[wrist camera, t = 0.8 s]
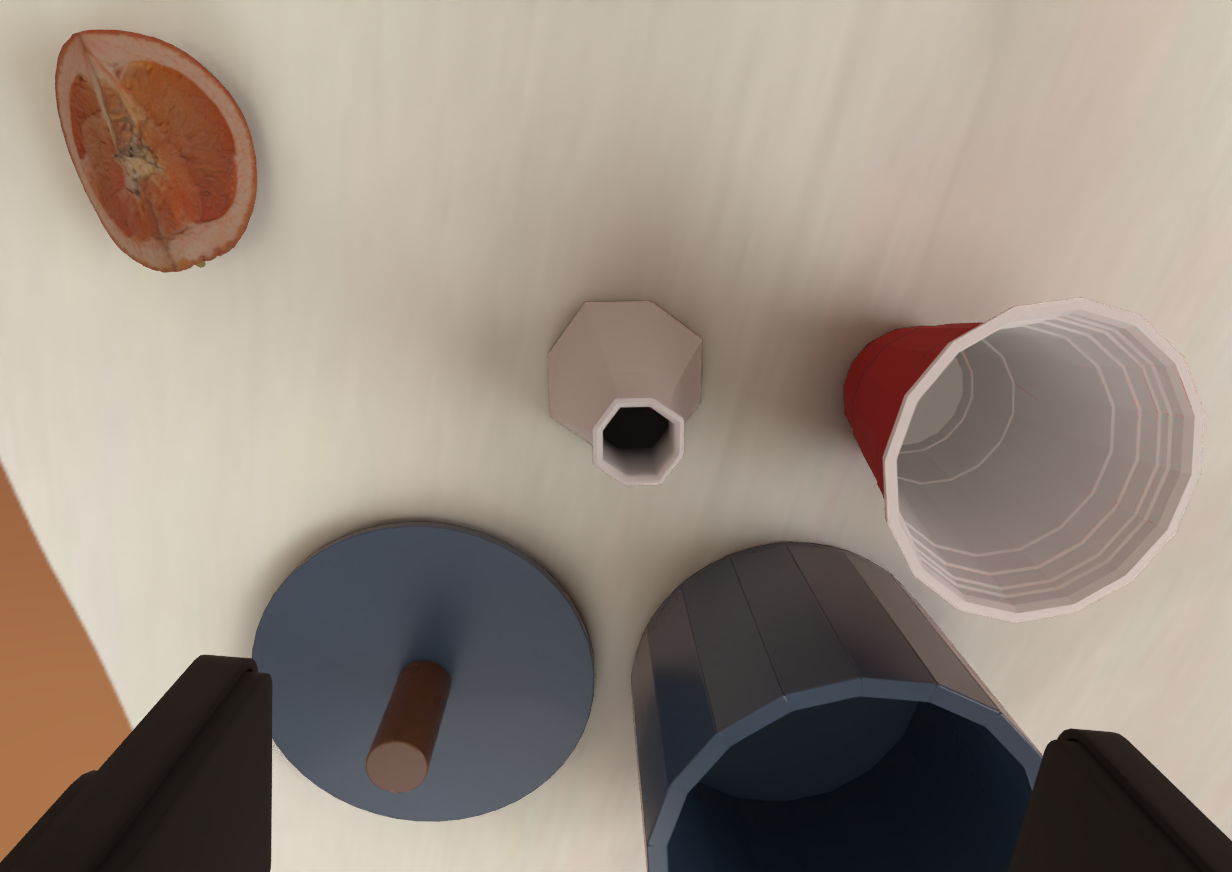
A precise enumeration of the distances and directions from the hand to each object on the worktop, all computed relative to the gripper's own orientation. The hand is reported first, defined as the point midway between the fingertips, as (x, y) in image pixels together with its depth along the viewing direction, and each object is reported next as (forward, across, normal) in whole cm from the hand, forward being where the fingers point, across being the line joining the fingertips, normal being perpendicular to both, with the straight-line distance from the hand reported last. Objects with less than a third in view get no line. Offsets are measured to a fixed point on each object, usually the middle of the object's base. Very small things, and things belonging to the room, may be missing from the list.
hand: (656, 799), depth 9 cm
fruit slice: (+28, +18, -7) cm, 34 cm away
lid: (+27, +7, +16) cm, 32 cm away
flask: (+28, -1, 0) cm, 28 cm away
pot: (+28, -11, +15) cm, 34 cm away
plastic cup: (+28, -14, -1) cm, 31 cm away
